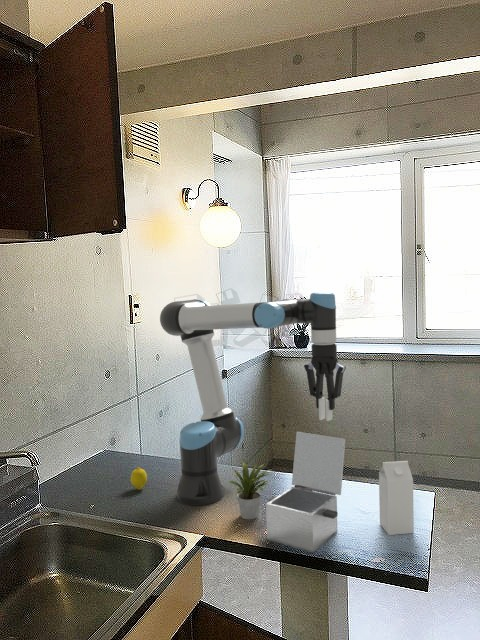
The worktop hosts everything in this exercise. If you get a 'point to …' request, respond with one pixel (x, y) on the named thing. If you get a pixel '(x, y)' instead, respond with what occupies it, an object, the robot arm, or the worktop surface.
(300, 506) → the white hinged box
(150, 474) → the worktop surface
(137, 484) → the fruit
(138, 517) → the worktop surface
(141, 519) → the worktop surface
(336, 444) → the lid
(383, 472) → the milk carton
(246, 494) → the house plant
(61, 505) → the worktop surface
